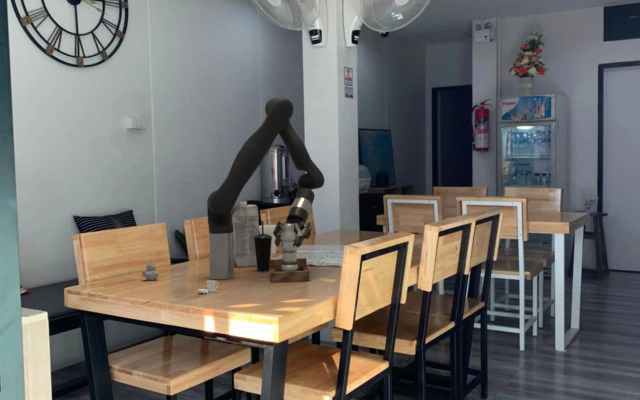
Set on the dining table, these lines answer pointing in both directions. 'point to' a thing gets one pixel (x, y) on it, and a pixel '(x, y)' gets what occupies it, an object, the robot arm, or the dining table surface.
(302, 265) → the drawer
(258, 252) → the drinking cup
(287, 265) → the plastic bottle
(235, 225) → the juice carton
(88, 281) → the dining table surface
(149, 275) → the rubber duck
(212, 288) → the teacup and saucer
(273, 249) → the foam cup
